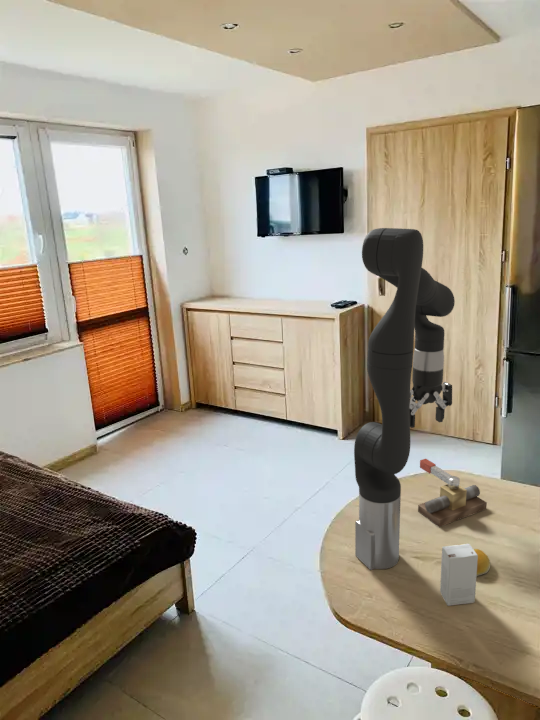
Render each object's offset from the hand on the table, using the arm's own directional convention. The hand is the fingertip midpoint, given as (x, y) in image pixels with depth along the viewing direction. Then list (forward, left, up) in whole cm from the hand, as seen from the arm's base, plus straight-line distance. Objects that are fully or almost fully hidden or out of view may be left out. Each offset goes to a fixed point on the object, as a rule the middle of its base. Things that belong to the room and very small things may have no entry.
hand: (425, 423), depth 147 cm
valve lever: (+3, -3, -15) cm, 16 cm away
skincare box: (-19, -33, -23) cm, 45 cm away
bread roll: (-9, -26, -23) cm, 36 cm away
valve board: (+3, -8, -23) cm, 24 cm away
